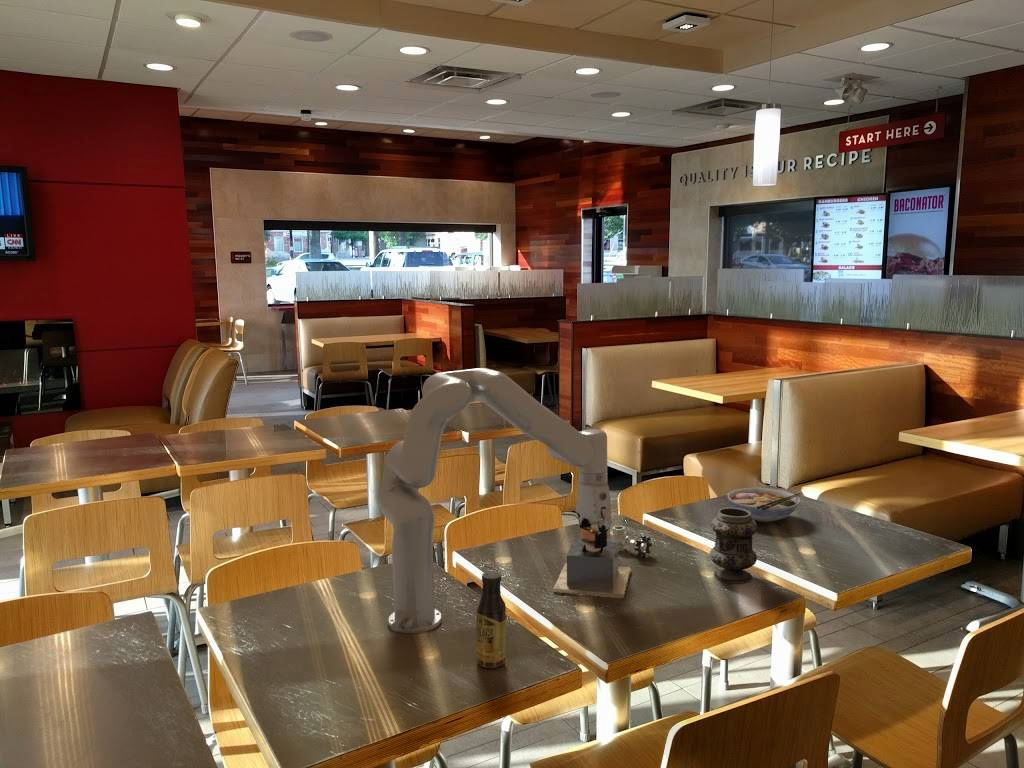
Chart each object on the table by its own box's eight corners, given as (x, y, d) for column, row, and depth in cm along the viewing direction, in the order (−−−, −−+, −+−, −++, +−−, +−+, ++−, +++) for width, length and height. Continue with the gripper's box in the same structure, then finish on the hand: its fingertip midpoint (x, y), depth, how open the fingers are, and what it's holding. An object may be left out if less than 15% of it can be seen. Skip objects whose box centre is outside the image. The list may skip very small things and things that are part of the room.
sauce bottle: (470, 663, 166) (468, 574, 163) (491, 652, 170) (489, 565, 167) (491, 674, 161) (489, 582, 159) (513, 663, 166) (511, 573, 163)
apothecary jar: (759, 571, 212) (761, 507, 210) (752, 588, 201) (754, 521, 199) (714, 565, 217) (715, 502, 215) (705, 581, 206) (706, 515, 204)
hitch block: (623, 598, 197) (623, 563, 195) (553, 592, 201) (552, 558, 200) (630, 571, 214) (630, 539, 213) (565, 566, 218) (565, 535, 217)
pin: (604, 570, 203) (604, 535, 201) (578, 568, 204) (577, 533, 203) (608, 560, 209) (608, 526, 208) (582, 558, 211) (582, 524, 210)
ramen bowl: (754, 503, 272) (754, 480, 271) (815, 519, 255) (816, 494, 254) (710, 519, 257) (710, 495, 255) (772, 536, 239) (773, 511, 238)
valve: (606, 549, 231) (637, 561, 222) (606, 528, 230) (637, 538, 221) (621, 544, 235) (652, 555, 226) (621, 523, 234) (652, 533, 225)
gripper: (623, 483, 197) (623, 550, 200) (587, 468, 213) (588, 530, 215) (598, 487, 194) (598, 556, 197) (563, 471, 209) (564, 535, 212)
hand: (593, 542), depth 206 cm, fingers closed on pin, 7 cm apart
